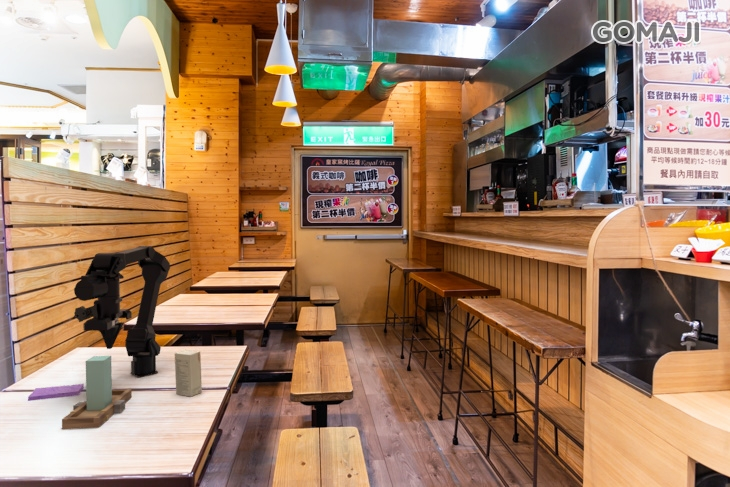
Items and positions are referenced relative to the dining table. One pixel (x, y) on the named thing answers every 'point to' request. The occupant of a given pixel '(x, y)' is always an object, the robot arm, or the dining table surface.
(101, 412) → the wooden tray
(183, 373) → the skincare box
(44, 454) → the dining table surface
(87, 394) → the grey-green tall block
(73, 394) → the sponges
